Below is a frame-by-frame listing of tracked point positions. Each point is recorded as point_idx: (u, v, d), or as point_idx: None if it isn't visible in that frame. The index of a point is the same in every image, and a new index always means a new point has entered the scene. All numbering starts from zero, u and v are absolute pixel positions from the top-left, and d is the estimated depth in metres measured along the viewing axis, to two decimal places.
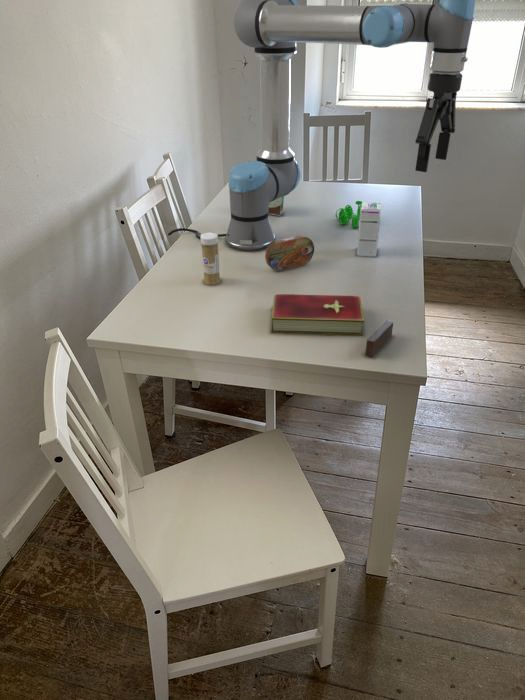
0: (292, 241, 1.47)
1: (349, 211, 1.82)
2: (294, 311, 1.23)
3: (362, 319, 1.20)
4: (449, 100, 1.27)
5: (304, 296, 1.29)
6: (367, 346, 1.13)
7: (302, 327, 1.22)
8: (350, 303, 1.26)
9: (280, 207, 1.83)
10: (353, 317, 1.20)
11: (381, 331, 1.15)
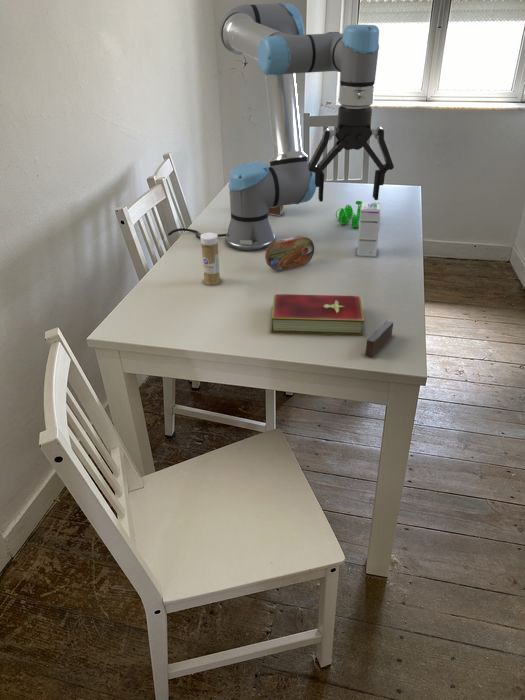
0: (292, 241, 1.47)
1: (349, 211, 1.82)
2: (294, 311, 1.23)
3: (362, 319, 1.20)
4: (358, 135, 1.21)
5: (304, 296, 1.29)
6: (367, 346, 1.13)
7: (302, 327, 1.22)
8: (350, 303, 1.26)
9: (280, 207, 1.83)
10: (353, 317, 1.20)
11: (381, 331, 1.15)
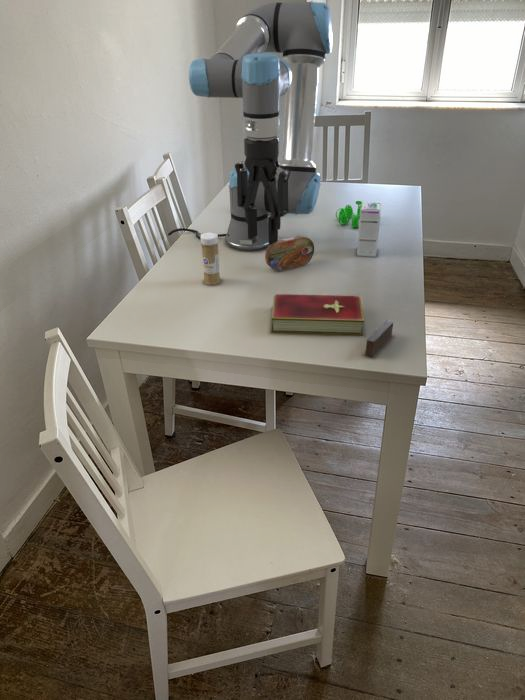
0: (292, 241, 1.47)
1: (349, 211, 1.82)
2: (294, 311, 1.23)
3: (362, 319, 1.20)
4: (261, 167, 1.14)
5: (304, 296, 1.29)
6: (367, 346, 1.13)
7: (302, 327, 1.22)
8: (350, 303, 1.26)
9: None
10: (353, 317, 1.20)
11: (381, 331, 1.15)
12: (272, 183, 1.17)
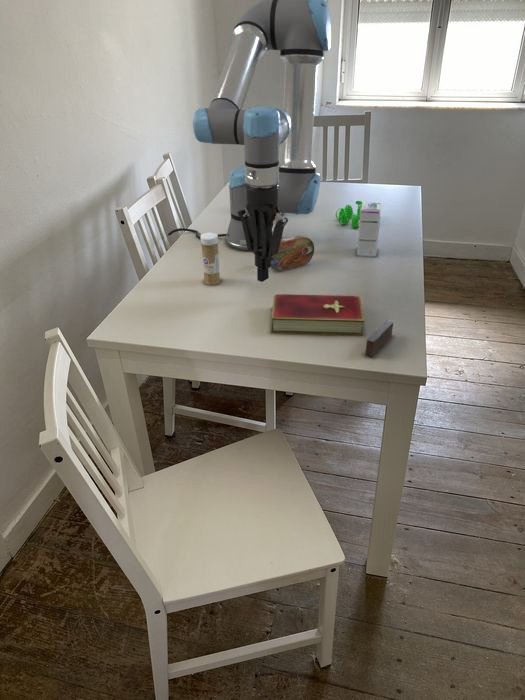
0: (292, 241, 1.47)
1: (349, 211, 1.82)
2: (294, 311, 1.23)
3: (362, 319, 1.20)
4: (262, 212, 1.20)
5: (304, 296, 1.29)
6: (367, 346, 1.13)
7: (302, 327, 1.22)
8: (350, 303, 1.26)
9: None
10: (353, 317, 1.20)
11: (381, 331, 1.15)
12: (269, 227, 1.23)
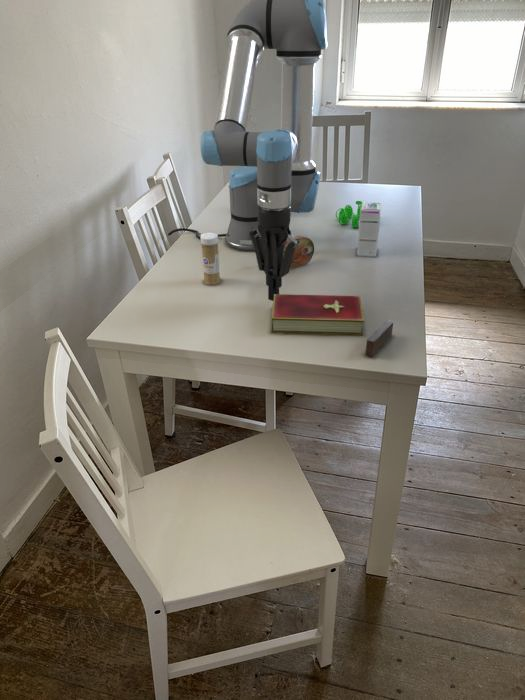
0: None
1: (349, 211, 1.82)
2: (294, 311, 1.23)
3: (362, 319, 1.20)
4: (274, 234, 1.21)
5: (304, 296, 1.29)
6: (367, 346, 1.13)
7: (302, 327, 1.22)
8: (350, 303, 1.26)
9: None
10: (353, 317, 1.20)
11: (381, 331, 1.15)
12: (280, 248, 1.24)
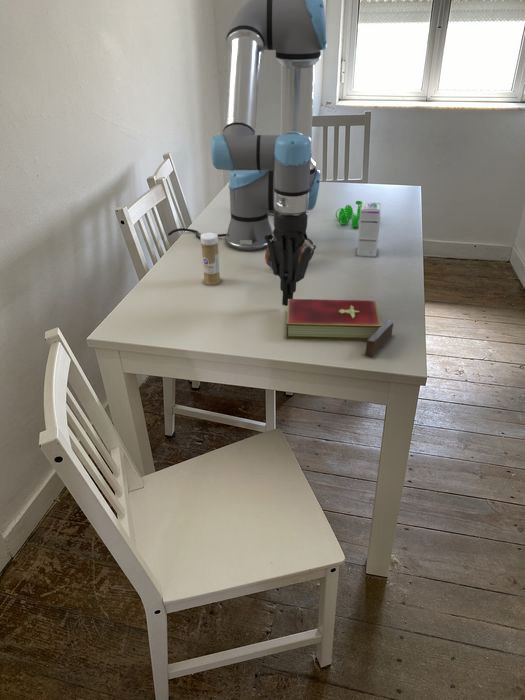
0: None
1: (349, 211, 1.82)
2: (309, 316, 1.21)
3: (379, 324, 1.18)
4: (290, 238, 1.18)
5: (318, 301, 1.27)
6: (367, 346, 1.13)
7: (317, 333, 1.20)
8: (365, 308, 1.24)
9: None
10: (369, 322, 1.18)
11: (381, 331, 1.15)
12: (296, 252, 1.21)
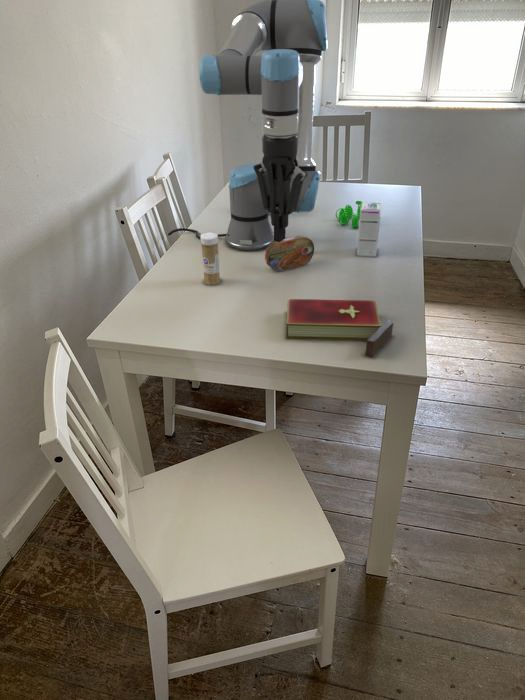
0: (292, 241, 1.47)
1: (349, 211, 1.82)
2: (309, 316, 1.21)
3: (379, 324, 1.18)
4: (280, 165, 1.13)
5: (318, 301, 1.27)
6: (367, 346, 1.13)
7: (317, 333, 1.20)
8: (365, 308, 1.24)
9: None
10: (369, 322, 1.18)
11: (381, 331, 1.15)
12: (287, 182, 1.16)
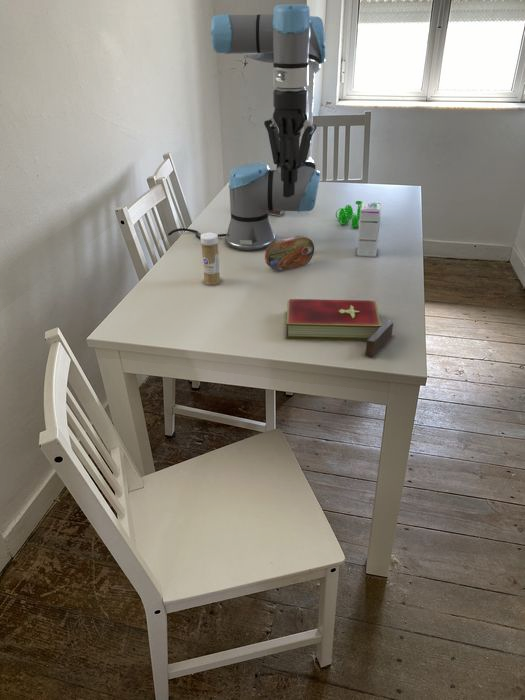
0: (292, 241, 1.47)
1: (349, 211, 1.82)
2: (309, 316, 1.21)
3: (379, 324, 1.18)
4: (290, 119, 1.17)
5: (318, 301, 1.27)
6: (367, 346, 1.13)
7: (317, 333, 1.20)
8: (365, 308, 1.24)
9: None
10: (369, 322, 1.18)
11: (381, 331, 1.15)
12: (297, 136, 1.20)
